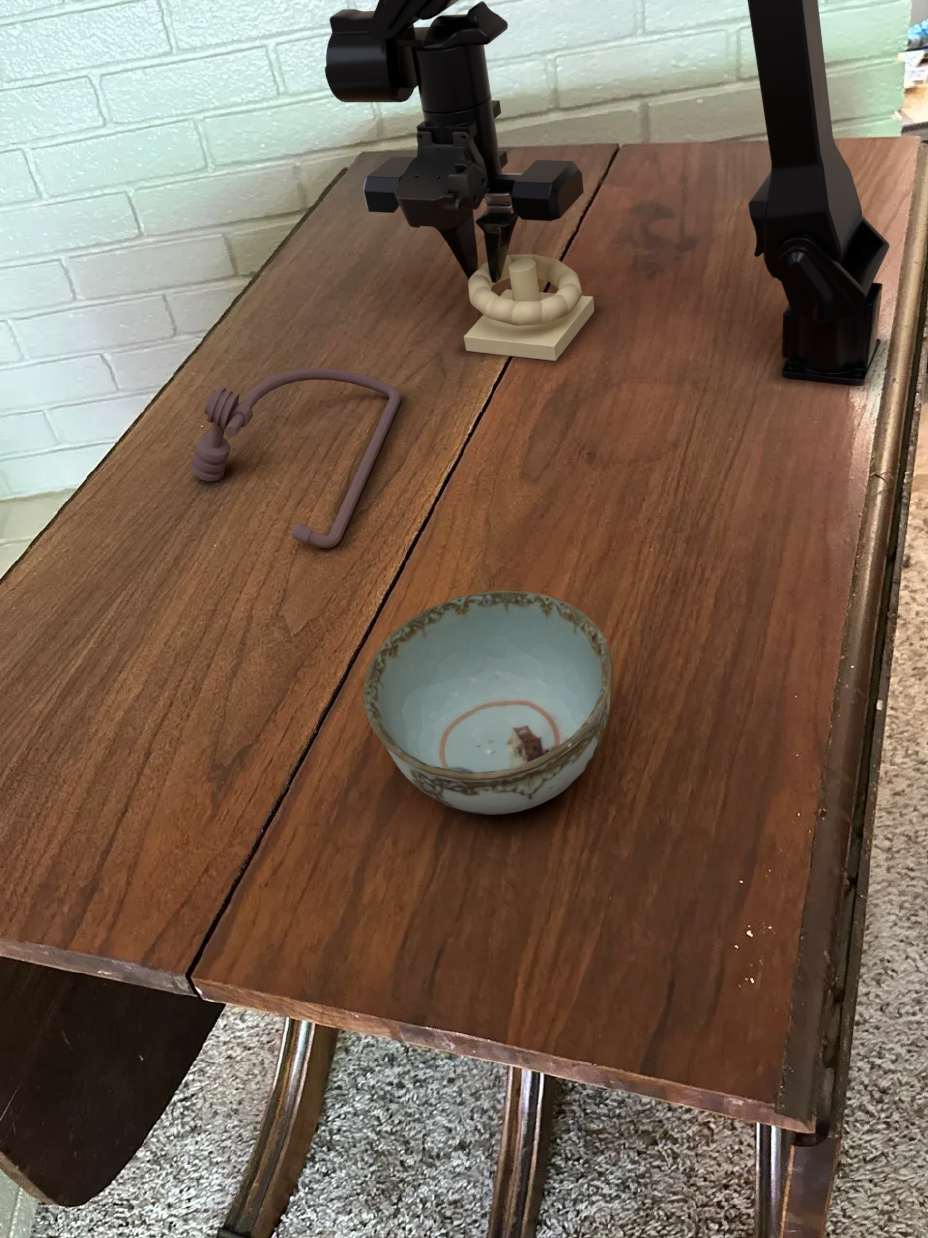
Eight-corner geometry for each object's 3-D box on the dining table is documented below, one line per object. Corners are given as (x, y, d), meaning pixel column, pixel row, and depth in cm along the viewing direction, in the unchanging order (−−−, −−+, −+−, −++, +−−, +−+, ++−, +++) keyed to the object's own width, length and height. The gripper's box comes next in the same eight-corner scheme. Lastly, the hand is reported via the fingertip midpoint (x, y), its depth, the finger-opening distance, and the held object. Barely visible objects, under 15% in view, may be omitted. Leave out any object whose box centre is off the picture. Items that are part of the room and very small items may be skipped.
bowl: (666, 811, 59) (660, 714, 53) (436, 905, 57) (406, 814, 52) (566, 654, 69) (552, 558, 63) (366, 729, 67) (335, 637, 61)
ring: (596, 285, 99) (598, 265, 98) (552, 340, 93) (554, 319, 92) (498, 260, 102) (498, 241, 101) (449, 312, 96) (449, 292, 95)
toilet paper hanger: (340, 540, 79) (159, 463, 77) (311, 610, 85) (142, 540, 83) (409, 380, 94) (259, 312, 92) (380, 449, 100) (239, 387, 98)
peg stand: (594, 311, 100) (588, 244, 96) (555, 361, 95) (547, 292, 91) (507, 303, 104) (498, 238, 100) (465, 351, 99) (454, 285, 95)
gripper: (308, 137, 87) (353, 315, 97) (517, 141, 79) (542, 334, 89) (378, 87, 94) (413, 258, 104) (577, 85, 86) (593, 271, 96)
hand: (484, 279), depth 98 cm, fingers closed on ring, 2 cm apart
